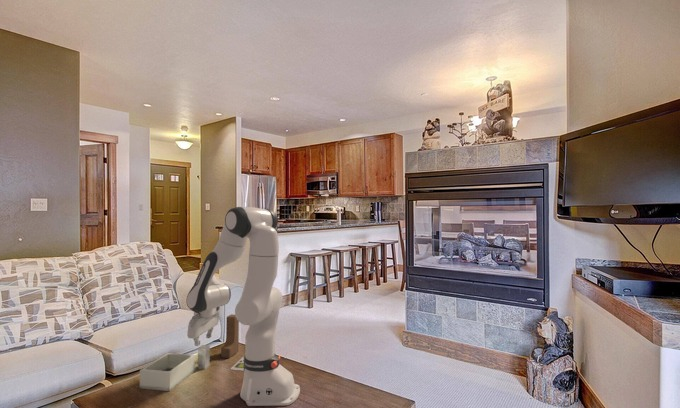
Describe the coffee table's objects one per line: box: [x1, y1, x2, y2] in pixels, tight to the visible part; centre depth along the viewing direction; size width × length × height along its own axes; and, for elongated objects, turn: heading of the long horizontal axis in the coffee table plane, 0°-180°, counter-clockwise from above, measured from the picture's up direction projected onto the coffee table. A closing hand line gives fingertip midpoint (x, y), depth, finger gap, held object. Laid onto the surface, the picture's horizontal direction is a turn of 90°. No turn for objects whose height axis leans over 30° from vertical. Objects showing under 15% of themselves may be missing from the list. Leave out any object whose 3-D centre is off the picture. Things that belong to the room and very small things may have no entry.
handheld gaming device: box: [230, 355, 245, 372], centre depth 160 cm, size 9×1×15 cm
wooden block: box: [220, 313, 240, 359], centre depth 170 cm, size 9×4×18 cm, turn 168°
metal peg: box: [197, 344, 211, 370], centre depth 156 cm, size 4×4×9 cm
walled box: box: [139, 352, 196, 392], centre depth 144 cm, size 13×17×7 cm
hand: (203, 341), depth 156 cm, fingers open, 8 cm apart
